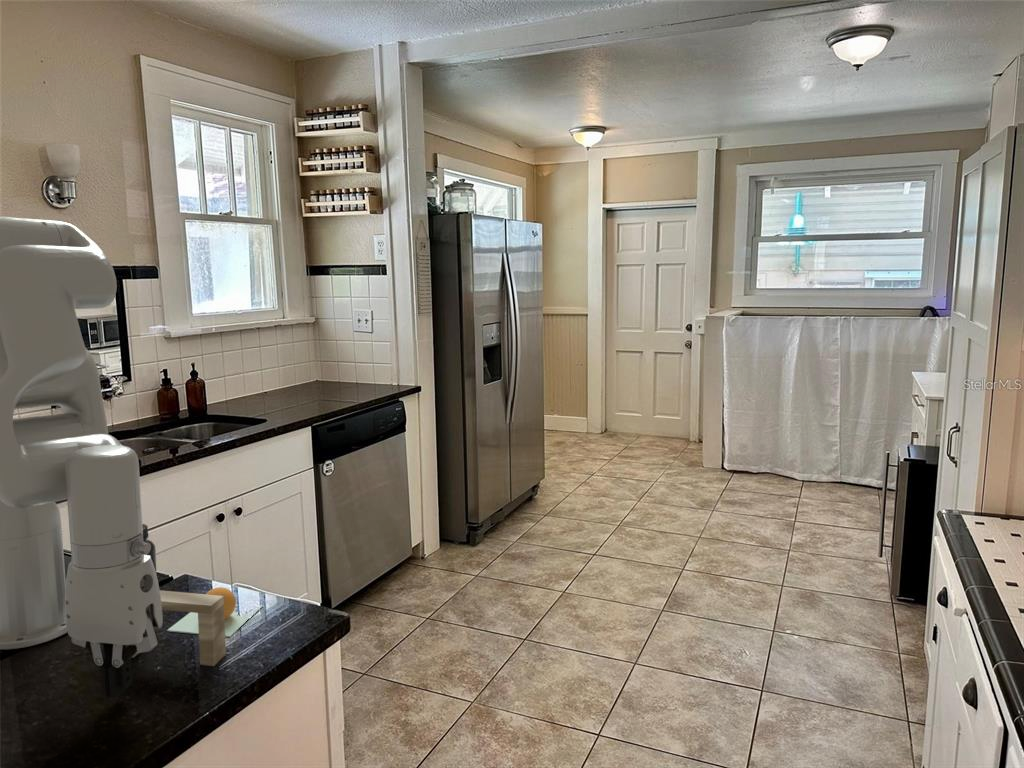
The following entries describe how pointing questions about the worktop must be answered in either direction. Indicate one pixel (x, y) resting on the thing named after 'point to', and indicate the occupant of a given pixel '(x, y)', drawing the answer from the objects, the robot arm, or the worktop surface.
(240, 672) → the worktop surface
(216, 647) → the bridge
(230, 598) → the ball
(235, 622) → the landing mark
